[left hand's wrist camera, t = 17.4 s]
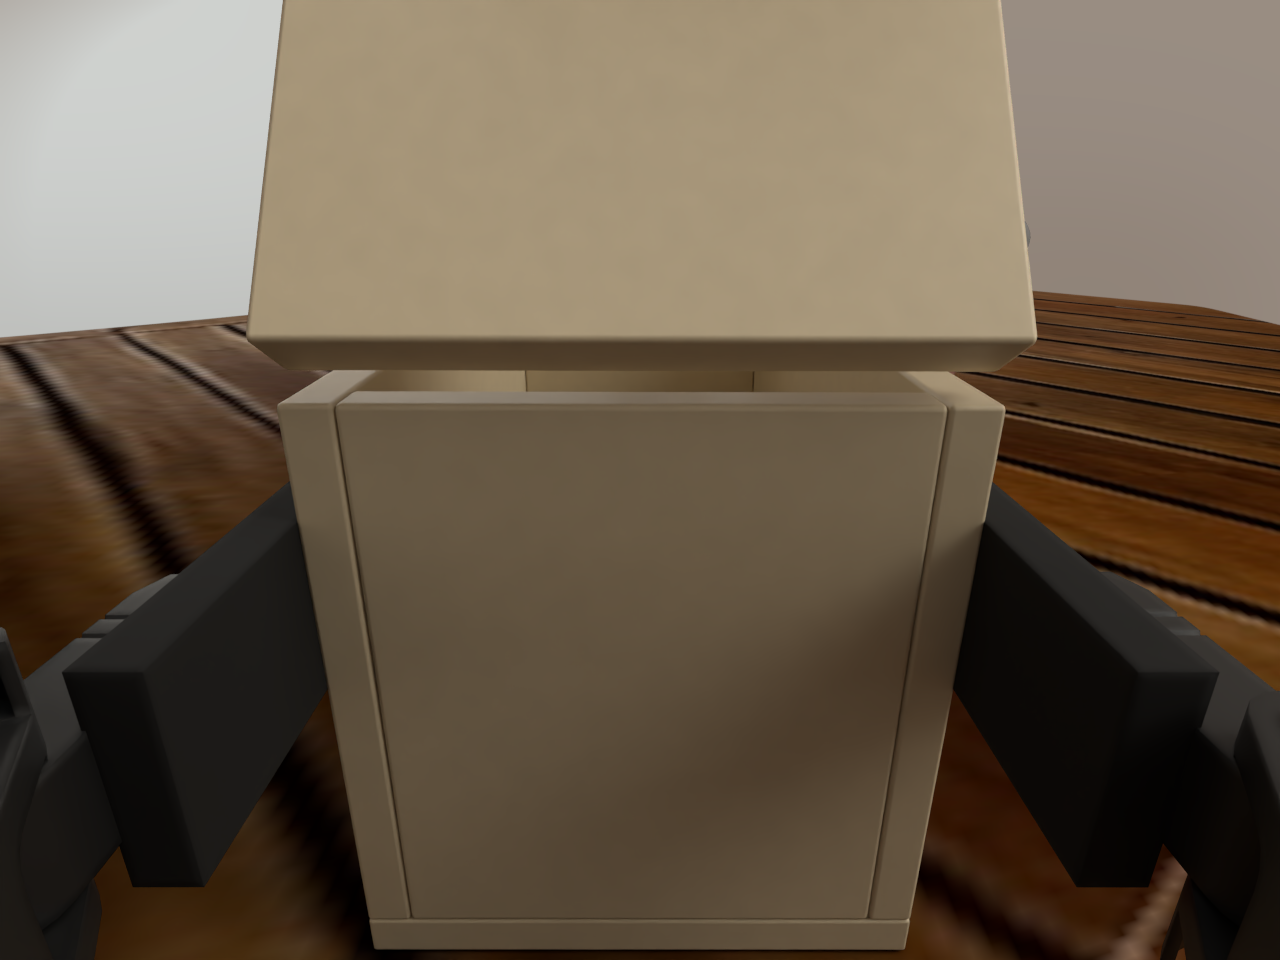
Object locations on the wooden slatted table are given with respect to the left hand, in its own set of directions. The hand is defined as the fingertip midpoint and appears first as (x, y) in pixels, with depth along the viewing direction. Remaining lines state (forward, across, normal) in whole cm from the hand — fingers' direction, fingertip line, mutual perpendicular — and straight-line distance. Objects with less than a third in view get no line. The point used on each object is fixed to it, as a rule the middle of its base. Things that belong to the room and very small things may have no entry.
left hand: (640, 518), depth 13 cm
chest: (+5, 0, -7) cm, 9 cm away
